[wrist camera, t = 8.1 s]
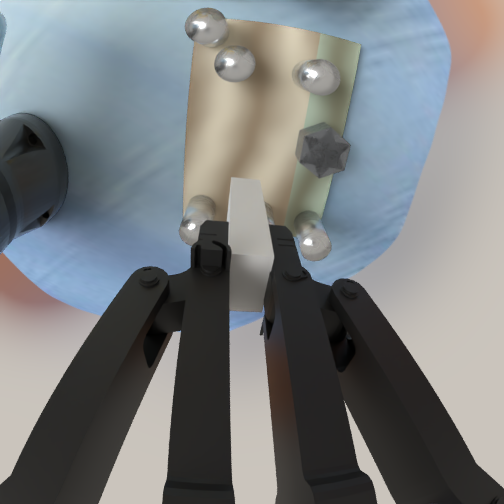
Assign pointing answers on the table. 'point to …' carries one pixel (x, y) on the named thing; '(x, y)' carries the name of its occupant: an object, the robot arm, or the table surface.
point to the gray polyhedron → (322, 150)
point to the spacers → (239, 69)
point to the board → (263, 118)
